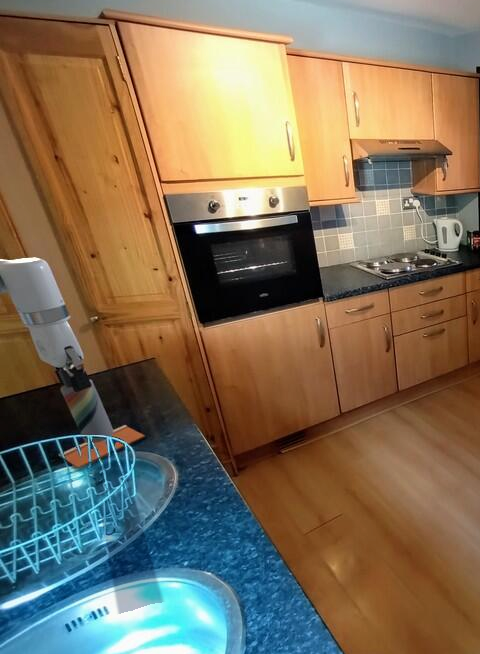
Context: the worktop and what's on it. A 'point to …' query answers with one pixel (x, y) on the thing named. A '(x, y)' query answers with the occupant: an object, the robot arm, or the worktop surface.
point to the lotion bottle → (86, 409)
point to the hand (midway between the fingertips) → (76, 385)
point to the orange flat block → (101, 447)
